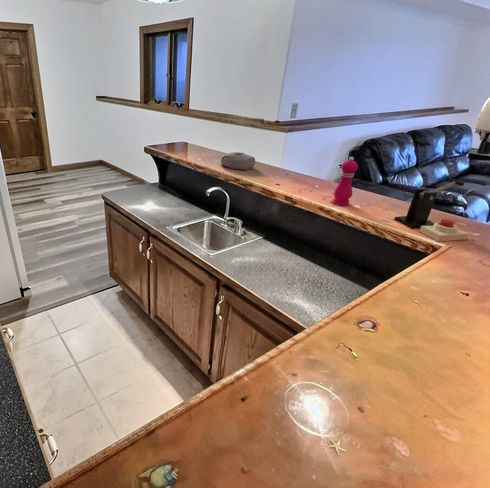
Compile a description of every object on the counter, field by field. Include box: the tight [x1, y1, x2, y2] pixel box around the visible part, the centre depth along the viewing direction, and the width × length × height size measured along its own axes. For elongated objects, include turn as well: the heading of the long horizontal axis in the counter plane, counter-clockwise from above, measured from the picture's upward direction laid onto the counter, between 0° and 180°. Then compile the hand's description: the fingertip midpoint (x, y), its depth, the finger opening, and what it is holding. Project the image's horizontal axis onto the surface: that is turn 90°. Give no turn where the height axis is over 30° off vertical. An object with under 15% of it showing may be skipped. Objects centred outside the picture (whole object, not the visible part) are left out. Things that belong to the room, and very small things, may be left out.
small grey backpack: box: [219, 151, 256, 171], centre depth 204 cm, size 15×8×20 cm
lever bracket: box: [393, 188, 438, 230], centre depth 128 cm, size 10×9×13 cm
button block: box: [418, 220, 469, 242], centre depth 121 cm, size 11×8×4 cm
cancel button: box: [440, 218, 455, 228], centre depth 120 cm, size 4×4×2 cm
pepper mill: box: [332, 156, 359, 207], centre depth 146 cm, size 7×7×20 cm
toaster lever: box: [419, 178, 465, 200], centre depth 126 cm, size 14×5×2 cm, turn 99°
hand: (482, 153), depth 115 cm, fingers closed
